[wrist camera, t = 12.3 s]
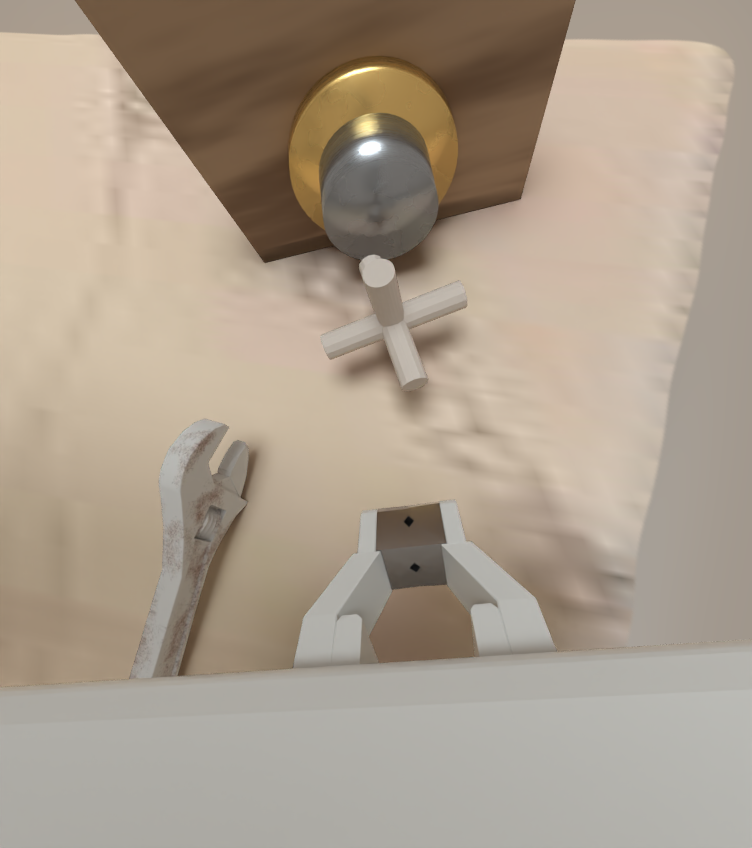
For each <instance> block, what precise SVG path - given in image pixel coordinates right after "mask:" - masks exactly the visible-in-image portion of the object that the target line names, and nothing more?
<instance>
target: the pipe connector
mask: <svg viewBox="0 0 752 848" xmlns="http://www.w3.org/2000/svg"><path fill="white" fill-rule="evenodd" d="M359 271H360V273H361V276H362V279H363V282H364V285H365V287H366V290H367V293H368V296H369V299H370V302H371V304H372V307H373V310H374V313H375V314H373V315H370V316H368V317H365V318H363V319H360V320H358V321H355V322H352V323H350V324H347V325H345V326H342V327H340V328H337V329H335V330H332V331H330V332H327V333H325V334H322V335H321V336H320V338H321V342H322V345H323V348H324V350H325V352H326V354H327V356H328V358H329V359H330V360H331V359H334V358H337V357H339V356H342V355H344V354H347V353H350V352H352V351H355V350H357V349H360V348H362V347H365V346H368V345H370V344H373V343H375V342H378V341H381V340H383V339H384V341H385V344H386V347H387V349H388V352H389V355H390V358H391V361H392V364H393V366H394V369H395V372H396V375H397V378H398V380H399V383H400V386H401V389H402V390H403V391H412V390H416V389H418V388H420V387H423V386H424V385H425V384H426V383H427V382H428V377H427V374H426V372H425V369H424V367H423V364H422V361H421V359H420V356H419V354H418V351H417V348H416V346H415V343H414V341H413V338H412V336H411V333H410V330H409V329H412V328H414V327H417V326H419V325H422V324H425V323H427V322H430V321H432V320H435V319H438V318H440V317H443V316H445V315H448V314H450V313H453V312H456V311H458V310H461V309H463V308H466V307H467V297H466V292H465V289H464V287H463V285H462V283H461V281H459V280H458V281H456V282H453V283H451V284H448V285H446V286H443V287H441V288H438V289H436V290H433V291H431V292H428V293H426V294H423V295H420V296H418V297H415V298H413V299H410V300H408V301H405V302H403V303H402V300H401V296H400V291H399V286H398V282H397V277H396V272H395V268H394V265H393V263H391V262H390V261H389V260H387V259H381V257H380V256H378V255H375V254H374V255H369V256H367V257H365V258H364V259H362V261H361V262H360V264H359Z"/></svg>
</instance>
